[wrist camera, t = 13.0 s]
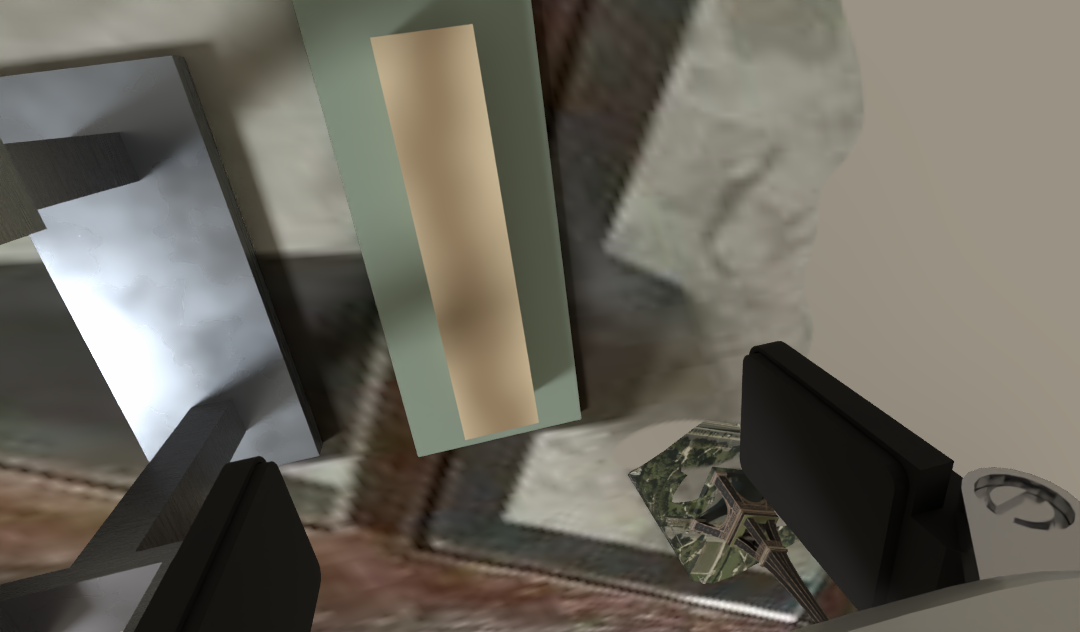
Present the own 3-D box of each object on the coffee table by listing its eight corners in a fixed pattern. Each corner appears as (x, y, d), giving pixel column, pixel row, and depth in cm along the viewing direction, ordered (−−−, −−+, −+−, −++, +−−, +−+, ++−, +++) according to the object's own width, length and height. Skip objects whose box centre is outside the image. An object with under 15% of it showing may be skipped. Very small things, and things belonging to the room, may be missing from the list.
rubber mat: (523, -37, 24) (526, -40, 23) (578, 413, 33) (581, 418, 33) (291, -11, 22) (288, -14, 22) (418, 450, 32) (418, 457, 31)
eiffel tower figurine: (620, 468, 36) (720, 653, 24) (749, 391, 36) (915, 540, 24) (697, 590, 42) (807, 787, 30) (808, 526, 42) (963, 698, 30)
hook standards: (184, 57, 22) (-188, -10, 9) (322, 442, 30) (241, 721, 17) (-28, 84, 21) (-823, 54, 8) (174, 476, 29) (-43, 803, 16)
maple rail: (467, 32, 24) (472, 23, 21) (528, 394, 31) (538, 422, 28) (376, 45, 23) (369, 37, 20) (461, 410, 31) (465, 440, 28)
